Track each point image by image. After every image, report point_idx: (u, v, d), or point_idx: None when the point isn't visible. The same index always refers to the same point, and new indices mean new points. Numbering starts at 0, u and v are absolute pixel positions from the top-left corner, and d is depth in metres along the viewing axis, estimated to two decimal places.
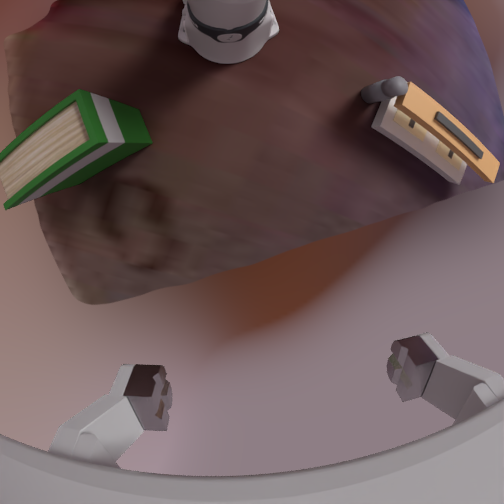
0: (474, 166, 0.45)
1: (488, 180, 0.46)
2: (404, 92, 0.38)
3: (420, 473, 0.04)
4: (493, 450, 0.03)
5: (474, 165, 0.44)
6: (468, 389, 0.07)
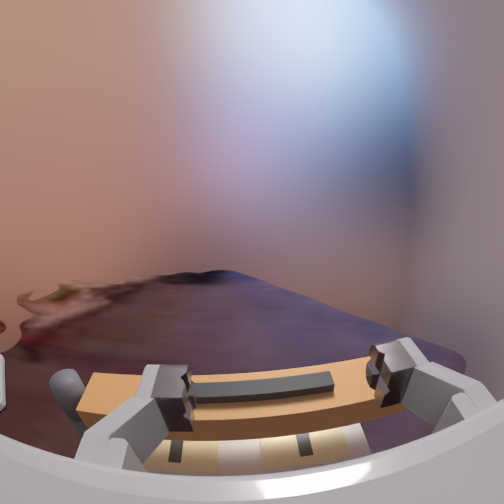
0: (342, 413, 0.20)
1: None
2: (70, 386, 0.20)
3: (420, 473, 0.04)
4: (493, 450, 0.03)
5: (337, 411, 0.19)
6: (448, 397, 0.07)
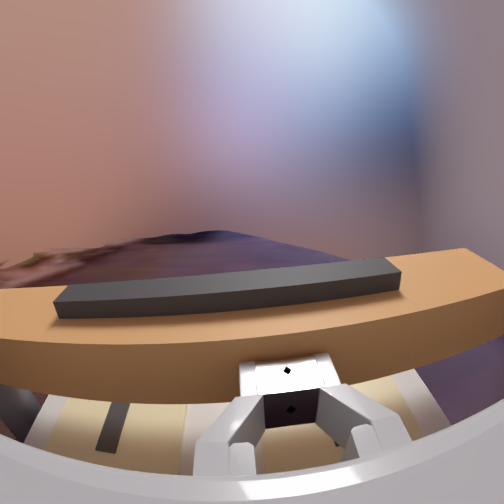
0: (423, 331, 0.10)
1: None
2: None
3: (420, 473, 0.04)
4: (493, 450, 0.03)
5: (415, 324, 0.10)
6: (357, 426, 0.06)
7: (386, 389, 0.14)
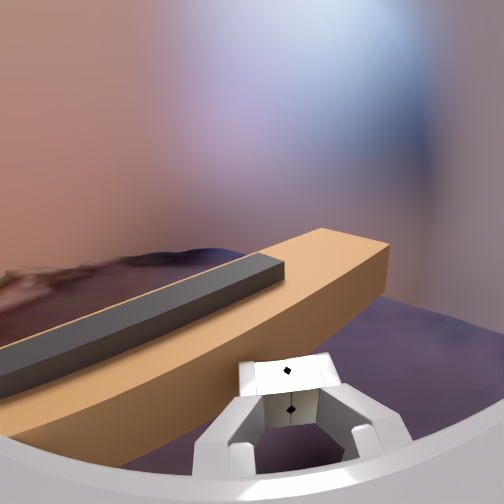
0: (321, 308, 0.12)
1: (382, 265, 0.15)
2: None
3: (420, 473, 0.04)
4: (493, 450, 0.03)
5: (315, 304, 0.12)
6: None
7: None
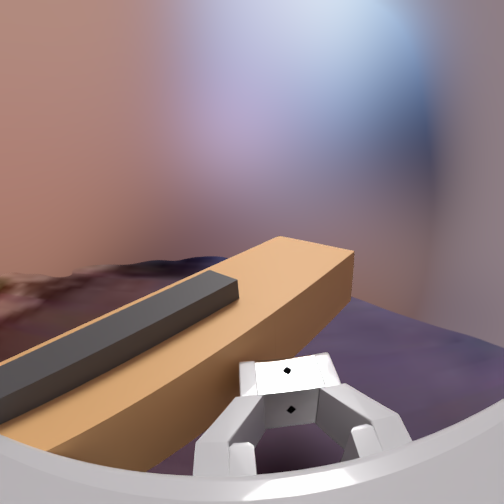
0: (281, 329, 0.11)
1: (347, 274, 0.15)
2: None
3: (420, 473, 0.04)
4: (493, 450, 0.03)
5: (273, 326, 0.11)
6: (357, 426, 0.06)
7: None
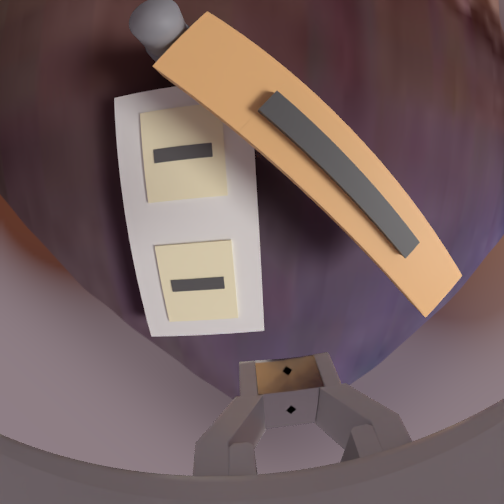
0: (382, 269, 0.21)
1: None
2: (159, 33, 0.13)
3: (420, 473, 0.04)
4: (493, 450, 0.03)
5: None
6: None
7: (207, 313, 0.29)
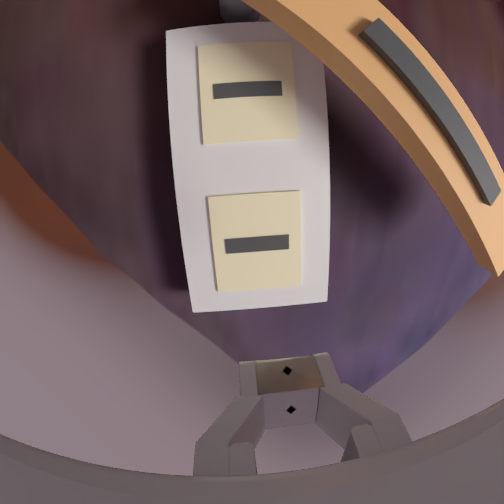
0: (465, 220, 0.17)
1: (488, 266, 0.19)
2: None
3: (420, 473, 0.04)
4: (493, 450, 0.03)
5: (466, 217, 0.17)
6: (357, 426, 0.06)
7: (265, 281, 0.25)
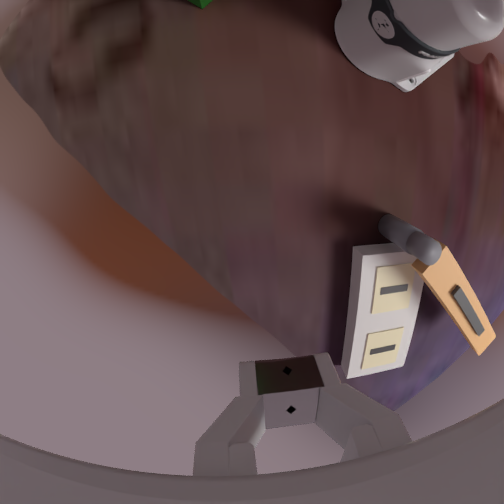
0: (467, 339, 0.40)
1: (475, 351, 0.42)
2: (432, 262, 0.32)
3: (420, 473, 0.04)
4: (493, 450, 0.03)
5: (468, 339, 0.40)
6: (357, 426, 0.06)
7: (382, 362, 0.48)
